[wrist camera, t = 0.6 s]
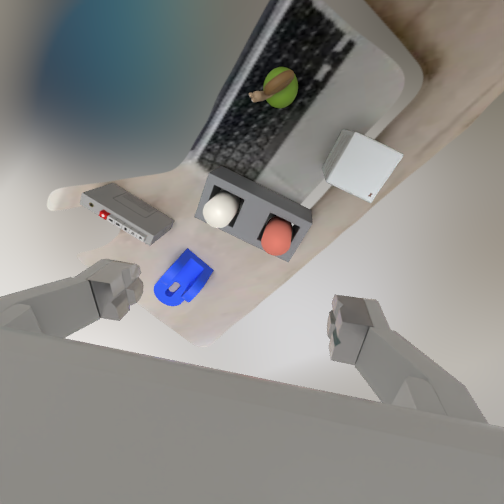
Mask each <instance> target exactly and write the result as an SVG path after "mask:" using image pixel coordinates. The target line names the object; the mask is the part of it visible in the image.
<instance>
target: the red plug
mask: <svg viewBox="0 0 504 504" xmlns="http://www.w3.org/2000/svg"><path fill="white" fill-rule="evenodd" d="M291 236H292V225H291V222H289V221H287V220H285V219H283V218H281V217H279V216H275V217H272V218H271V219H270V220H269V221H268V223H267V225H266V228H265V231H264V233H263V236H262V239H261V244H262V247H263V249H264V250H265V251H266V252H267V253H268V254H271V255H274V256H279V255H282V254H284V253H286V252H287V251H288V250H289V248H290V244H291Z"/></svg>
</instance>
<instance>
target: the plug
mask: <svg viewBox="0 0 504 504" xmlns="http://www.w3.org/2000/svg"><path fill="white" fill-rule="evenodd" d="M239 208H240V200H239V197H238V196H236V195H234V194H232V193H230V192H228V191H226V190H222V191H220V192H219V193H218V194H217V195H215V196H214V197H213V198H212V199H211V200H209V201H208V202H207V203H206V204H205V206H204V208H203V216H204V219H205V220H206V222H207V223H208V224H209V225H211V226H212V227H215V228H223V227H225V226H227V225H228V224H229V223H230V221H231V220H232V219H233V217H234V216H235V214H236V213H237V212H238V210H239Z"/></svg>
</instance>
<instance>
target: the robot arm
mask: <svg viewBox="0 0 504 504" xmlns="http://www.w3.org/2000/svg"><path fill="white" fill-rule="evenodd" d="M140 274H141V271H140V267H139V266H138V265H137V264H133V263H127V262H121V261H115V260H109V259H101V260H100V261H98V262H97V263H95V264H94V265H92V266H91V267H89V268H88V269H86V270H85V271H83V272H82V273H80V274H78V275H77V276H75V277H74V278H71V277H70V278H66V279H63V280H59V281H55V282H51V283H48V284H44V285H41V286H37V287H34V288H30V289H27V290H23V291H20V292H16V293H12V294H9V295H5V296H2V297H0V504H504V427H500V426H495V425H490V424H488V422H487V420H486V419H485V417H484V416H483V414H482V413H481V411H480V409H479V408H478V406H477V404H476V403H475V401H474V400H473V398H472V397H471V395H470V393H469V392H468V390H467V388H466V387H465V386H464V385H463V384H462V383H461V382H459V381H458V380H457V379H456V378H454V377H453V376H452V375H450V374H449V373H448V372H447V371H445V370H444V369H443V368H442V367H440V366H439V365H438V364H436V363H435V362H434V361H433V360H431V359H430V358H429V357H428V356H426V355H425V354H424V353H423V352H421V351H420V350H419V349H418V348H416V347H415V346H414V345H412V344H411V343H410V342H409V341H407V340H406V339H405V338H404V337H402V336H401V335H400V334H398V333H397V332H396V331H392V330H391V329H390V327H389V325H388V323H387V320H386V318H385V316H384V314H383V311H382V309H381V307H380V304H379V302H378V301H377V300H374V299H366V298H356V297H349V296H342V295H334V298H333V301H332V307H333V310H332V311H331V312H329V317H328V323H327V334H328V337H329V338H330V339H331V340H330V343H329V350H330V357H331V360H333V361H337V362H342V363H347V364H352V365H355V367H356V368H357V370H358V371H359V372H360V374H361V375H362V376H363V378H364V379H365V380H366V382H367V383H368V384H369V386H370V387H371V388H372V390H373V391H374V392H375V393H376V395H377V396H378V398H379V399H380V400H381V402H382V403H381V402H376V401H371V400H366V399H362V398H357V397H352V396H347V395H342V394H336V393H332V392H327V391H321V390H316V389H312V388H307V387H301V386H297V385H291V384H287V383H281V382H277V381H272V380H267V379H262V378H257V377H253V376H248V375H243V374H238V373H233V372H228V371H223V370H218V369H213V368H209V367H204V366H199V365H193V364H188V363H183V362H179V361H174V360H169V359H164V358H159V357H154V356H149V355H144V354H139V353H134V352H129V351H124V350H119V349H113V348H109V347H104V346H99V345H94V344H90V343H85V342H80V341H75V340H70V339H65V337H67V336H69V335H70V334H72V333H74V332H76V331H78V330H80V329H81V328H84V327H85V326H87V325H89V324H91V323H93V322H95V321H96V320H98V319H100V318H105V319H111V320H118V321H120V320H121V319H122V318H123V316H124V315H125V314H126V313H127V312H128V311H129V310H130V305H133V304H135V303H137V302H138V300H139V299H140V298H141V296H142V293H143V282H142V281H141V279H140V278H139V276H140Z"/></svg>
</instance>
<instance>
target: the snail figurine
mask: <svg viewBox="0 0 504 504" xmlns="http://www.w3.org/2000/svg"><path fill="white" fill-rule="evenodd" d="M297 91H298V81H297V78H296V76H295V74H294V72H293V71H292V70H290V69H288V68H286V67H278V68H275V69H273V70H272V71H271V72H270V73H269V74H268V75H267V77H266V79H265V82H264V86H263V91H255V92H253V94H252V93H249V97H252V99H251V100H252V102H258V101H263V100H267V102H268V103H269V104H270V105H271V106H273V107H275V108H284V107H287V106H288V105H290V104H291V103H292V102H293V100H294V99H295V97H296V95H297Z"/></svg>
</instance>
